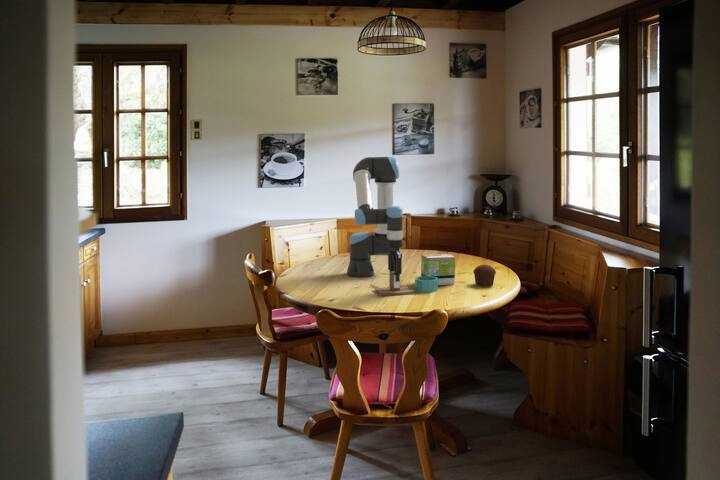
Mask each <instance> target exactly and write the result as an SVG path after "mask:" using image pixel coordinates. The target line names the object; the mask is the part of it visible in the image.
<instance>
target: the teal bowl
mask: <svg viewBox="0 0 720 480" xmlns="http://www.w3.org/2000/svg"><path fill="white" fill-rule="evenodd" d="M414 291H416V292H419V293H435V292H438V291H439V285H438V278H437V277H432V276H421V275H420V276H416V277H414Z"/></svg>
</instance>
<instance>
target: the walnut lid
mask: <svg viewBox="0 0 720 480" xmlns="http://www.w3.org/2000/svg"><path fill="white" fill-rule="evenodd" d="M388 271H389V270H388ZM393 274H395V273H394V271H389V276H388V277H389V283H388V284H389V286H388V287H377V288H374V290H375V291H376V292H378V293H379V294H381V295H382V296H390V297H395V296H394V295H401V296H406V295H405V294H413V295H416V294H415V291H416V290H415V289H412V288H410V287H408V286H407V285H400V288H394V275H393Z"/></svg>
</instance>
